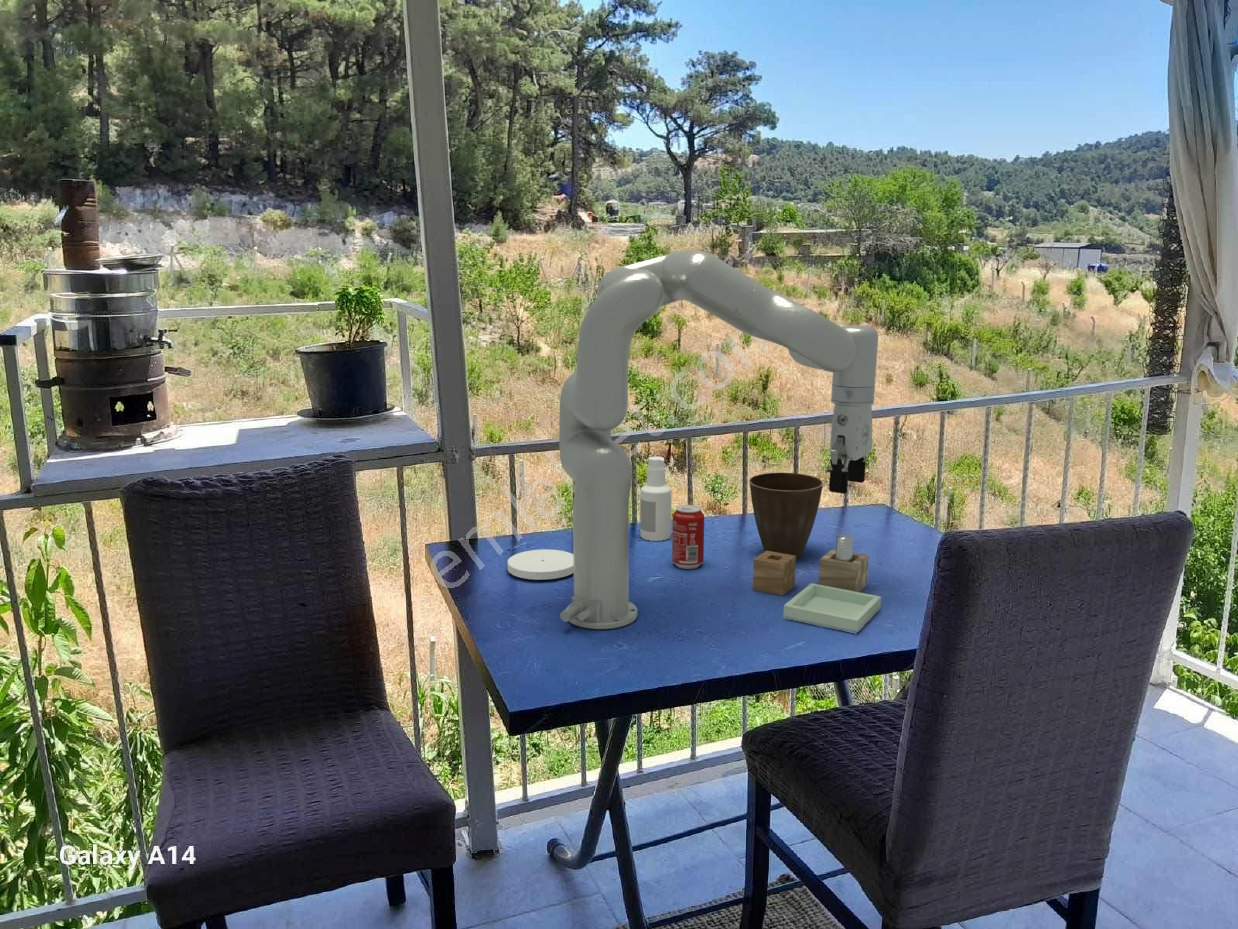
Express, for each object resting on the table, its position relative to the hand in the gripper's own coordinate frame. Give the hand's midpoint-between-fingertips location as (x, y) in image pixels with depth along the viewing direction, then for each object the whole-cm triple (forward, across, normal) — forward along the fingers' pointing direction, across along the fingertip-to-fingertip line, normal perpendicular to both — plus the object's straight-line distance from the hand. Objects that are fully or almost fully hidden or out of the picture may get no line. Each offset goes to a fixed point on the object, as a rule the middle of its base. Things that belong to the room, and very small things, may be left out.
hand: (846, 486), depth 175 cm
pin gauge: (+20, 0, 0) cm, 20 cm away
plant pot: (+20, +12, +17) cm, 29 cm away
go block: (+20, 0, 0) cm, 20 cm away
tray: (+20, -14, -3) cm, 24 cm away
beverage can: (+20, -4, +31) cm, 37 cm away
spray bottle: (+20, +9, +46) cm, 51 cm away
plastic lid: (+21, -22, +54) cm, 61 cm away
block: (+20, -7, +11) cm, 23 cm away
